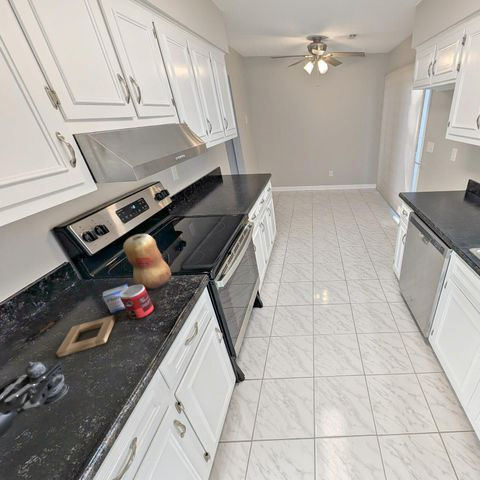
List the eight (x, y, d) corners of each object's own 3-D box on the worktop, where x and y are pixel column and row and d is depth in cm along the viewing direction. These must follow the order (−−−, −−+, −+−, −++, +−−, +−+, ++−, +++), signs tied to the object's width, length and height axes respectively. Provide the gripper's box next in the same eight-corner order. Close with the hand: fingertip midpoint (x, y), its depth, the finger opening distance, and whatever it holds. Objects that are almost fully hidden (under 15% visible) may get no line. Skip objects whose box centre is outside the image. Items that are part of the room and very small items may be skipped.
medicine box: (111, 314, 99) (101, 297, 95) (112, 308, 102) (102, 291, 98) (135, 305, 103) (126, 288, 99) (134, 300, 106) (126, 283, 102)
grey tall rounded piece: (36, 397, 64) (8, 365, 59) (66, 379, 68) (42, 347, 63) (43, 410, 61) (13, 378, 56) (73, 390, 65) (49, 358, 60)
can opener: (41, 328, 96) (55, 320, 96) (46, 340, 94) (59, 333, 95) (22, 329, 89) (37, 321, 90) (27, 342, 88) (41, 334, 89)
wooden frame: (59, 358, 81) (55, 353, 80) (75, 331, 92) (72, 326, 91) (106, 344, 86) (103, 339, 84) (116, 320, 96) (113, 315, 95)
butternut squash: (138, 299, 106) (113, 247, 95) (141, 283, 117) (118, 235, 106) (174, 288, 112) (154, 238, 101) (174, 274, 123) (156, 227, 112)
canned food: (129, 313, 99) (117, 290, 94) (152, 303, 104) (142, 281, 99) (131, 323, 94) (119, 300, 89) (156, 313, 98) (145, 290, 93)
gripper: (-14, 433, 47) (72, 354, 62) (-82, 430, 48) (20, 353, 63) (10, 454, 50) (86, 374, 65) (-54, 451, 51) (36, 373, 66)
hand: (53, 364), depth 64 cm, fingers closed on grey tall rounded piece, 3 cm apart
